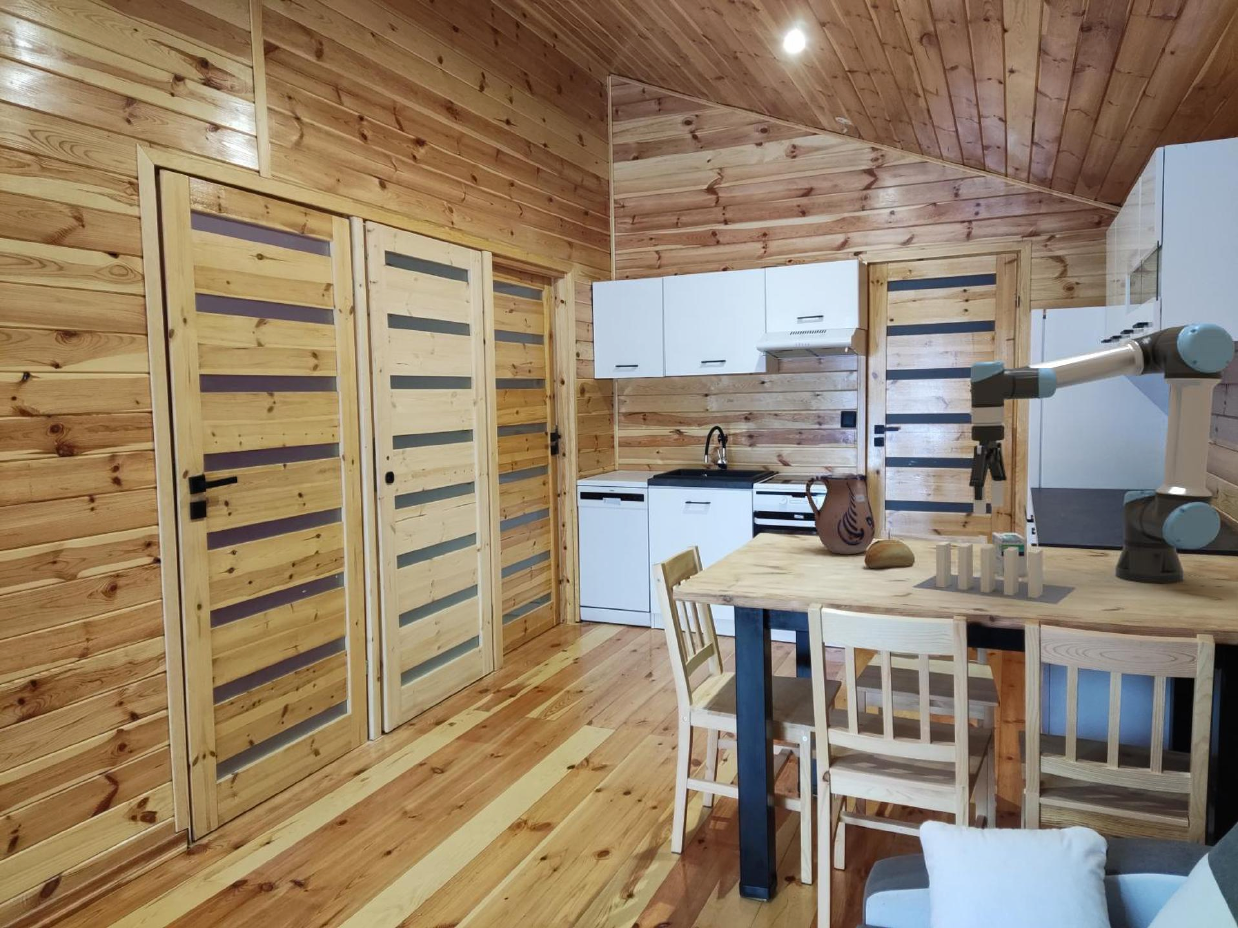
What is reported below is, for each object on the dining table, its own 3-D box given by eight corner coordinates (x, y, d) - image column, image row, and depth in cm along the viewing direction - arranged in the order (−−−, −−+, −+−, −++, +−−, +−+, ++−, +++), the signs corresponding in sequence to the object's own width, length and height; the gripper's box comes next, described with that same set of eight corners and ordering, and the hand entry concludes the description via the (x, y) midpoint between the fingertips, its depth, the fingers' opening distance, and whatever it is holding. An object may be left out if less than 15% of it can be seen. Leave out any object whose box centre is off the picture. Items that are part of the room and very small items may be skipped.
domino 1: (951, 583, 221) (950, 542, 221) (944, 587, 218) (944, 545, 217) (943, 582, 223) (943, 541, 222) (936, 586, 219) (936, 544, 218)
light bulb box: (1027, 578, 228) (1027, 538, 227) (1000, 577, 229) (1000, 538, 228) (1017, 570, 238) (1017, 531, 237) (991, 569, 239) (991, 532, 239)
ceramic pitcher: (882, 556, 264) (881, 476, 262) (813, 558, 264) (812, 478, 263) (866, 546, 282) (865, 471, 280) (802, 548, 282) (801, 473, 280)
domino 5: (1042, 594, 207) (1042, 549, 206) (1037, 598, 203) (1037, 552, 203) (1033, 593, 209) (1033, 548, 208) (1028, 597, 205) (1028, 552, 204)
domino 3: (995, 588, 214) (995, 545, 214) (988, 592, 211) (988, 548, 210) (986, 587, 216) (986, 545, 215) (980, 591, 212) (980, 548, 211)
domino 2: (972, 586, 218) (972, 543, 217) (966, 590, 214) (966, 546, 213) (964, 585, 219) (964, 543, 218) (958, 589, 215) (957, 546, 215)
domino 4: (1018, 591, 211) (1018, 547, 210) (1012, 595, 207) (1012, 550, 206) (1010, 590, 212) (1010, 546, 211) (1003, 594, 208) (1003, 550, 207)
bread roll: (857, 566, 251) (857, 539, 251) (904, 562, 254) (904, 536, 253) (872, 572, 242) (872, 544, 241) (921, 568, 244) (920, 541, 244)
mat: (1076, 589, 213) (1076, 587, 213) (1056, 605, 198) (1056, 603, 198) (939, 574, 235) (939, 573, 235) (912, 588, 220) (912, 586, 220)
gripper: (987, 422, 222) (988, 503, 223) (954, 427, 203) (955, 515, 205) (1018, 421, 217) (1019, 504, 219) (987, 426, 198) (988, 517, 200)
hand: (988, 509), depth 212 cm, fingers open, 13 cm apart
